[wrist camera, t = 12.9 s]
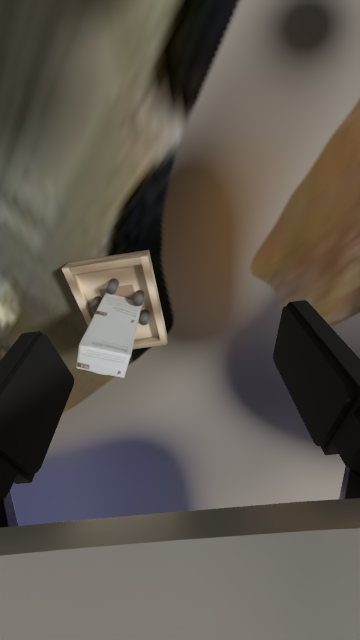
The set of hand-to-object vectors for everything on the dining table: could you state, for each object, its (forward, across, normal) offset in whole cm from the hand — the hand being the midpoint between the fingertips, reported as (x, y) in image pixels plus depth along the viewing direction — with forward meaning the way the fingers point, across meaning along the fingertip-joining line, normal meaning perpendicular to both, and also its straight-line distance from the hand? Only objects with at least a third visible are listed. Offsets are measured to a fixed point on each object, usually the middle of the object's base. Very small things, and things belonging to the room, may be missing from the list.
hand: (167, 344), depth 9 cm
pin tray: (+25, +9, +13) cm, 30 cm away
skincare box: (+24, +10, +13) cm, 29 cm away
